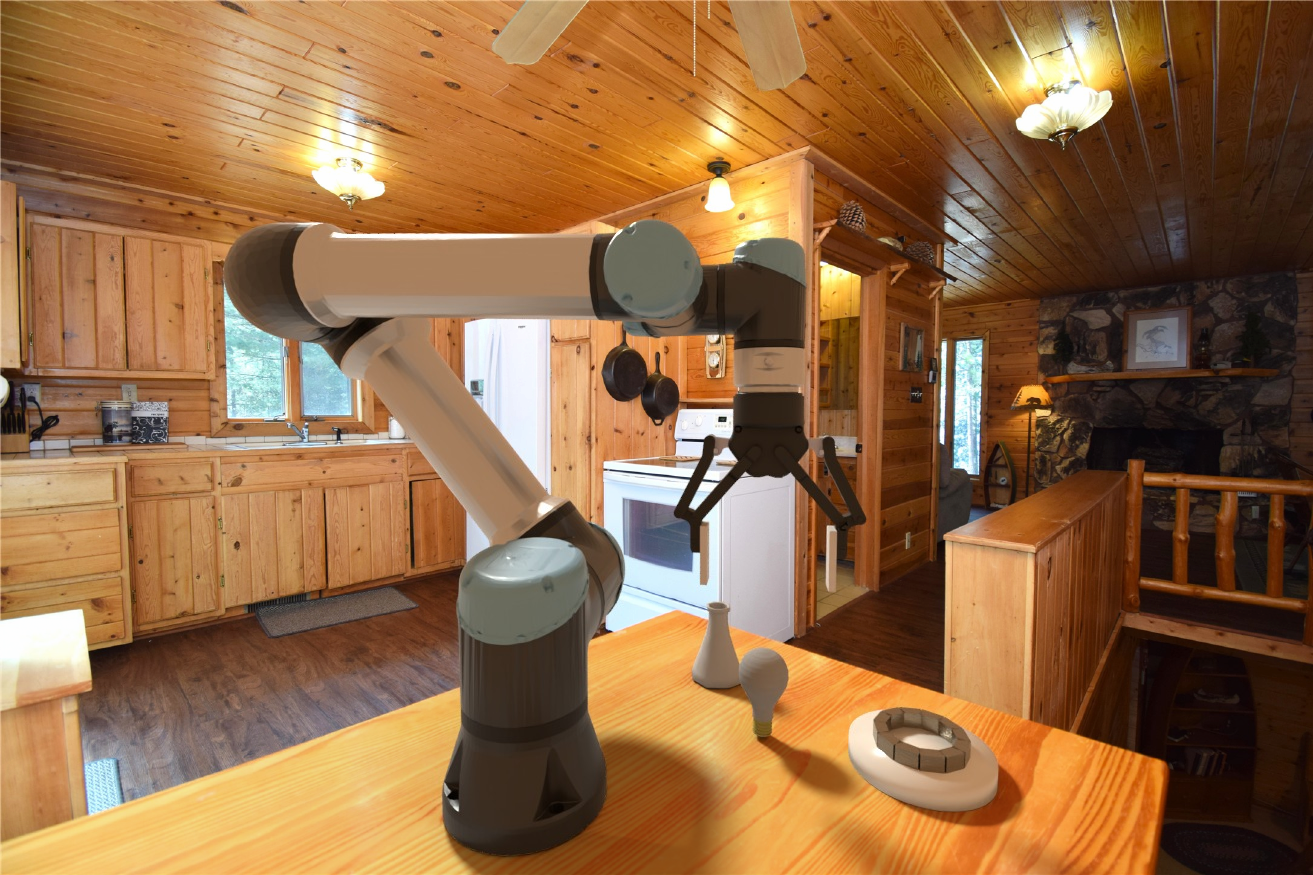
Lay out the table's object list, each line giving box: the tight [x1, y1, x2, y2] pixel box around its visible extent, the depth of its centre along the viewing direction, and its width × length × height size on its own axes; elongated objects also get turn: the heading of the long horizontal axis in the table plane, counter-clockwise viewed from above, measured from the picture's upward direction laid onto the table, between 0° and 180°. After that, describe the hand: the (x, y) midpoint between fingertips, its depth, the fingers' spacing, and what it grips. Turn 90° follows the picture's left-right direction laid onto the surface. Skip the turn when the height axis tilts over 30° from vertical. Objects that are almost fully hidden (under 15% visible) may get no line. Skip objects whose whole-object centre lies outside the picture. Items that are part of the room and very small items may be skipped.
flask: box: [691, 601, 741, 689], centre depth 79 cm, size 7×7×10 cm
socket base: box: [847, 709, 999, 813], centre depth 60 cm, size 14×14×2 cm
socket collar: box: [873, 706, 971, 774], centre depth 60 cm, size 9×9×2 cm
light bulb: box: [739, 647, 789, 739], centre depth 65 cm, size 6×6×10 cm
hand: (766, 584), depth 64 cm, fingers open, 13 cm apart
